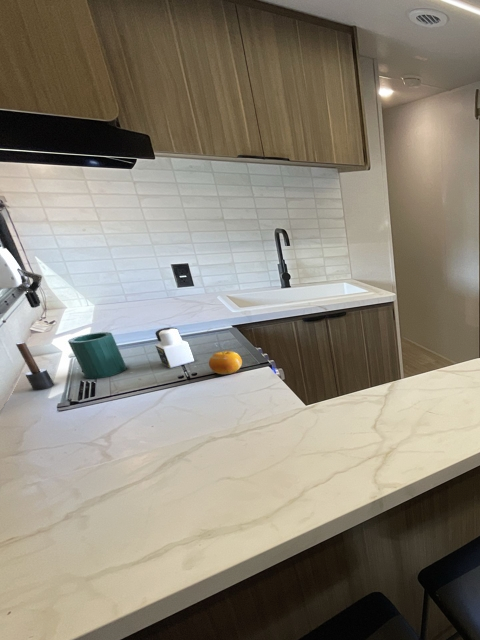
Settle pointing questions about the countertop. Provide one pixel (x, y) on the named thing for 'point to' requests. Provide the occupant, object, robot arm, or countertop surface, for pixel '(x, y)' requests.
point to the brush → (34, 370)
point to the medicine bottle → (172, 348)
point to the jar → (97, 355)
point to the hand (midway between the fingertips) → (12, 308)
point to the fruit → (225, 362)
